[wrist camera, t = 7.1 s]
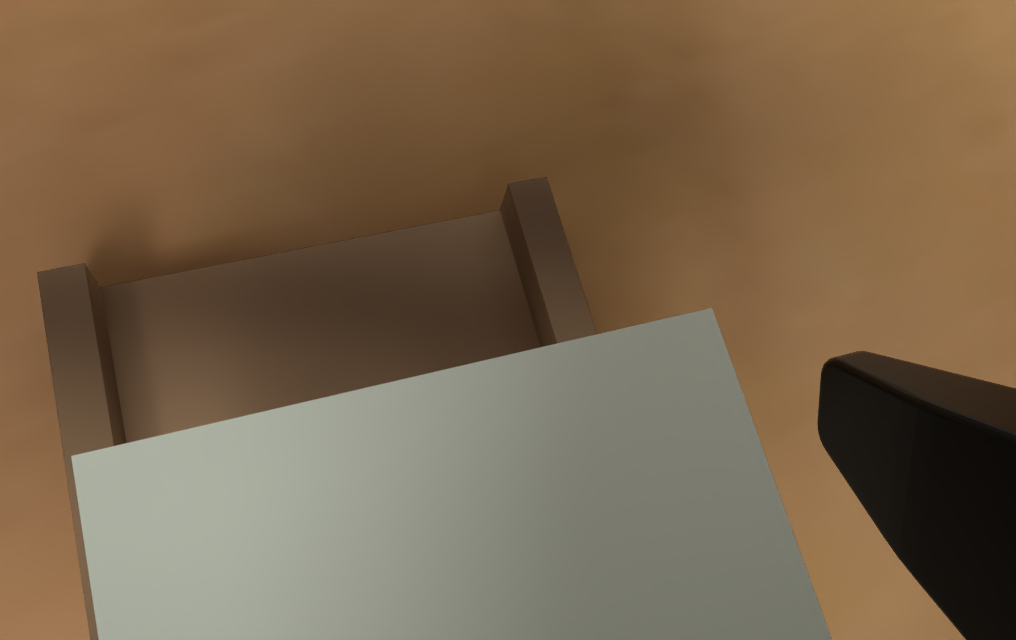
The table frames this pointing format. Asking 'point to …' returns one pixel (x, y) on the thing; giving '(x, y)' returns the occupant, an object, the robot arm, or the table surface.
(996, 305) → the table surface
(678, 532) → the pale green recessed block
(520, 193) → the wooden tray
